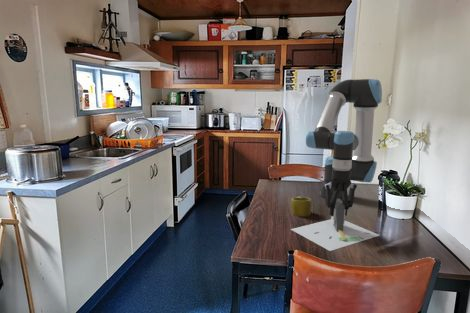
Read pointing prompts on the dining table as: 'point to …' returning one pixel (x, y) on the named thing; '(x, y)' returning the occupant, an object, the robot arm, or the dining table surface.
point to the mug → (301, 206)
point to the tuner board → (334, 234)
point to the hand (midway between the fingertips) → (337, 222)
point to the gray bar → (339, 217)
